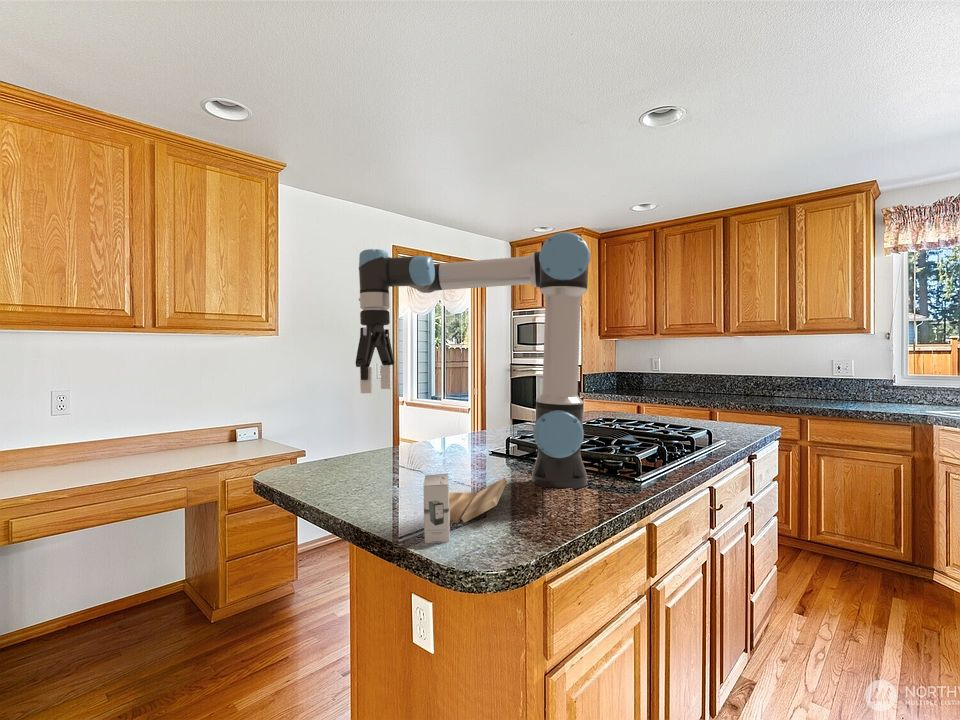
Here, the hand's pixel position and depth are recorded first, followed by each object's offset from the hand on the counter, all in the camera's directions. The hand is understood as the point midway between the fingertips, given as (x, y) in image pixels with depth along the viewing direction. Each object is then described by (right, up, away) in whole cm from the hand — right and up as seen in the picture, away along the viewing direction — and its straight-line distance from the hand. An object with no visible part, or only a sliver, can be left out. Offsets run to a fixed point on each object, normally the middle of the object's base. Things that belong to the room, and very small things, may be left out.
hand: (376, 391), depth 132 cm
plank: (+29, -24, -18) cm, 41 cm away
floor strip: (+21, -27, -16) cm, 38 cm away
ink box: (+19, -27, -33) cm, 47 cm away
